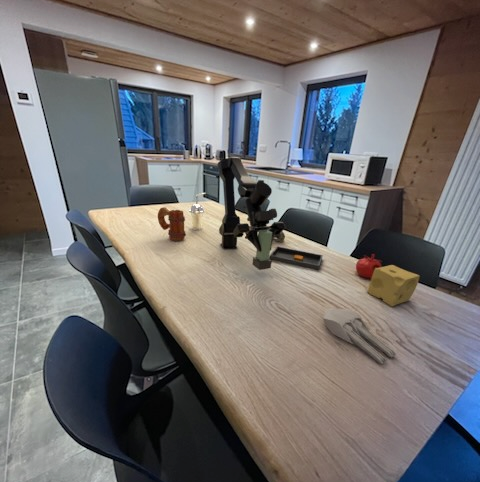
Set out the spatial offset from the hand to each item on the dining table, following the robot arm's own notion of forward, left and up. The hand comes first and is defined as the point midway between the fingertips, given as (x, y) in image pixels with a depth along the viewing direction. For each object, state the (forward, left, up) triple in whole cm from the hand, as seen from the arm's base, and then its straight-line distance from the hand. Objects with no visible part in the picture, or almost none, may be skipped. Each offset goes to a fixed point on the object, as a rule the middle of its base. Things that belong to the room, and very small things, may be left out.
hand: (265, 250), depth 94 cm
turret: (+12, -36, -12) cm, 40 cm away
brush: (0, +1, -7) cm, 7 cm away
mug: (-28, +51, -12) cm, 59 cm away
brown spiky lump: (+21, +40, -12) cm, 46 cm away
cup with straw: (-13, +66, -12) cm, 68 cm away
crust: (+23, +14, -11) cm, 29 cm away
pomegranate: (+45, -4, -12) cm, 47 cm away
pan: (+22, +14, -12) cm, 29 cm away
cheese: (+40, -20, -12) cm, 47 cm away
